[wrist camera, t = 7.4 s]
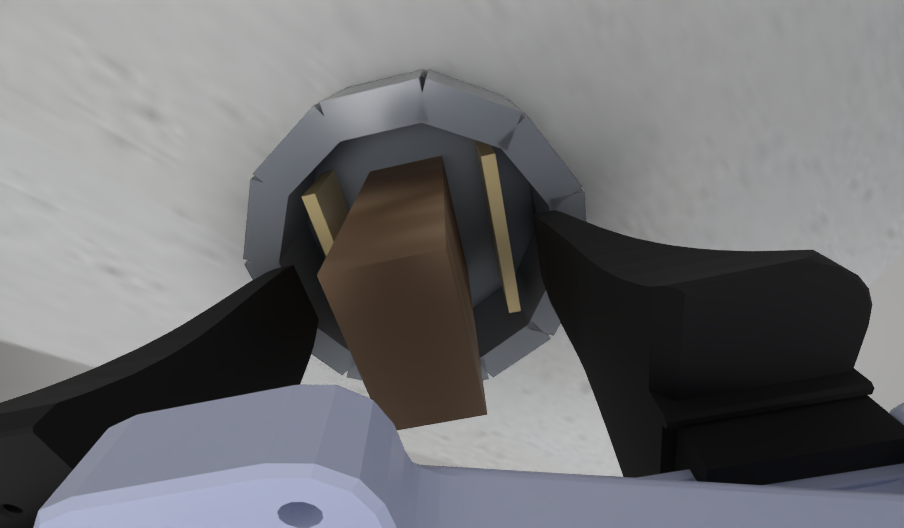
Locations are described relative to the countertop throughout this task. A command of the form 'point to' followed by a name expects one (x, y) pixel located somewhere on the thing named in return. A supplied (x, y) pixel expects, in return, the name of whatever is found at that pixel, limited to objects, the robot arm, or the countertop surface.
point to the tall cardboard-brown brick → (407, 297)
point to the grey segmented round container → (471, 187)
